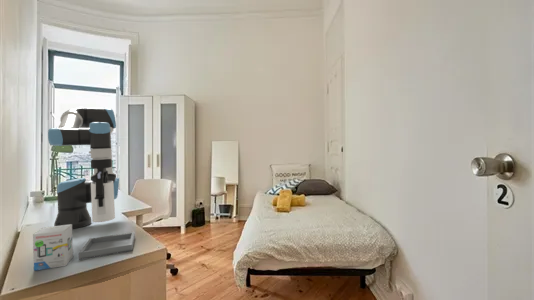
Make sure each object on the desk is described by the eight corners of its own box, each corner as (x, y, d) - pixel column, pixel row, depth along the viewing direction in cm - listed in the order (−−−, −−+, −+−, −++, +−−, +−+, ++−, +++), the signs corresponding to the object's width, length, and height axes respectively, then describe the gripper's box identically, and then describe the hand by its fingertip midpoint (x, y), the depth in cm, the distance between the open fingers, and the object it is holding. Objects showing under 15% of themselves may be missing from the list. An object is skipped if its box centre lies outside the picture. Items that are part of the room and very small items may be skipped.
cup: (104, 222, 107) (102, 183, 107) (87, 221, 109) (85, 183, 109) (119, 216, 116) (117, 180, 115) (103, 216, 117) (101, 180, 117)
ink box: (33, 271, 82) (31, 234, 82) (43, 261, 89) (42, 227, 89) (66, 265, 85) (65, 230, 85) (73, 256, 93) (72, 223, 93)
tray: (89, 244, 104) (89, 238, 104) (134, 237, 110) (134, 232, 110) (79, 259, 89) (78, 253, 89) (131, 251, 95) (131, 244, 95)
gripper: (95, 157, 120) (98, 207, 120) (84, 160, 100) (87, 219, 101) (114, 157, 123) (116, 205, 123) (107, 159, 103) (109, 216, 104)
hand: (103, 211), depth 112 cm, fingers closed on cup, 8 cm apart
